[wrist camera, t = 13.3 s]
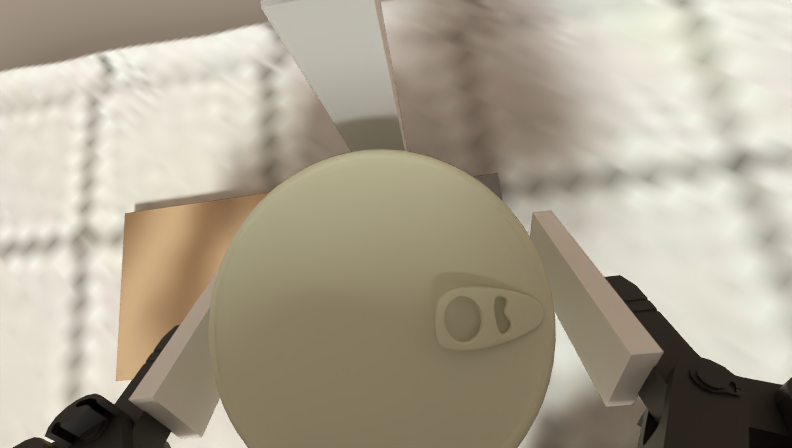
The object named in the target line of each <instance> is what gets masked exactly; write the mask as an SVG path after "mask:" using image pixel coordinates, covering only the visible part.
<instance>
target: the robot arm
mask: <svg viewBox="0 0 792 448" xmlns="http://www.w3.org/2000/svg"><path fill="white" fill-rule="evenodd" d="M530 238H531V240H532V242H533V244H534V246H535V247H536V250H537V252H538V254H539V256H540V259H541V261H542V263H543V266H544V269H545V272H546V275H547V278H548V281H549V285H550V289H551V294H552V299H553V305H554V311H555V313H556V315H557V317H558V318H559V320H560V322H561V324H562V326H563V328H564V330H565V331H566V333H567V335H568V337H569V339H570V341H571V343H572V344H573V346H574V348H575V350H576V352H577V354H578V356H579V357H580V359H581V361H582V363H583V365H584V367H585V369H586V370H587V372H588V374H589V376H590V378H591V380H592V382H593V384H594V385H595V387H596V389H597V391H598V393H599V395H600V397H601V398H602V400H603V402H604V404H605V406H606V407H610V406H623V405H633V403H634V402H635V400H636V398H637V397H638V395H639V396H640V398H641V399H642V401H643V403H644V404H645V406H646V407H647V409H646V410H645V412H644V413H643V415H642V416H641V418H640V420H639V421H638V423H637V425H639V426H641V427H642V428H641V433H640V438H639V444H638V448H792V378H790V379H789V380H788V381H787V382H786V383H785V384H784V385H780V384H775V383H769V382H764V381H759V380H753V379H748V378H743V377H739V376H735V375H734V374H732V373H731V372H730V371H729V370H727V369H726V368H725V367H723V366H721V365H719V364H717V363H715V362H713V361H711V360H708V359H705V358H701V357H700V356H699V355H698V354H697V353H696V352H695V351H694V350H693V349H692V348H691V347H690V346H689V344H688V343H687V342H686V341H685V340H684V339H683V338H682V337H681V335H680V334H679V333H678V332H677V331H676V330H675V329H674V328H673V326H672V325H671V324H670V323H669V322H668V321H667V320H666V319H665V317H664V316H663V315H662V314H661V313H660V312H659V311H657V308H656V307H655V306H654V305H653V304H652V303H651V302H650V301H648V300H647V297H646V296H645V295H644V294H643V293H642V292H641V290H640V289H639V288H638V287H637V286H636V285H635V284H633V283H631V282H630V281H628V280H627V279H625V278H624V277H622V276H620V275H618V276H609V277H604V276H603V275H602V274H601V273H600V271H599V270H598V269H597V267H596V266H595V265H594V264H593V262H592V261H591V260H590V259H589V257H588V256H587V255H586V254H585V252H584V251H583V250H582V249H581V247H580V246H579V245H578V244H577V242H576V241H575V240H574V239H573V237H572V236H571V235H570V234H569V232H568V231H567V230H566V228H565V227H564V226H563V225H562V223H561V222H560V221H559V220H558V218H557V217H556V216H555V215H554V213H553V212H552V211H551V210H550V211H542V212H535V213H533V215H532V224H531V233H530ZM218 270H219V269H218ZM217 274H218V271H217V272H216V274H215V275H214V277H213V278H212V279H211V281H210V282H209V284H208V285H207V287H206V288H205V290H204V291H203V292H202V294H201V295H200V297H199V298H198V300H197V301H196V303H195V304H194V305H193V307H192V308H191V310H190V311H189V313H188V314H187V316H186V317H185V319H184V320H183V321H182V323H181V324H180V325H176V326H175V327H173V328H172V329H171V330H170V331H169V332H168V333H167V334H166V335H165V336H164V337H163V338H162V339H161V340H160V342H159V343H158V345H157V346H156V347H155V349H154V352H153V353H151V354H150V356H149V357H148V359H147V360H146V363H145V364H143V366H142V367H141V368H140V370H139V371H138V373H137V374H136V375H135V377H134V378H133V380H132V381H131V382H130V384H129V385H128V387H127V388H126V389H125V391H124V392H123V393H122V395H121V396H120V398H119V399H118V400H117V402H116V403H115V404H112V403H111V402H110V401H108V400H107V399H105V398H104V397H103V396H101V395H98V394H91V395H87V396H84V397H82V398H80V399H78V400H76V401H75V402H73V403H72V404H71V405H69V406H68V407H66V408H65V409H64V410H63V411H62V412H61V413H60V414H59V415H58V416H57V417H56V418H55V419H54V421H53V422H52V423H51V425H50V426H49V427H48V430H47V432H46V434H45V436H46V437H48V438H49V439H51V440H53V441H55V442H53V443H50V442H48V441H46V440H44V439H42V438H36V437H34V438H31V439H28V440H25V441H23V442H22V443H20V444H18V445H17V446H15V447H13V448H171V447H170V445H169V443H168V442H167V441H166V440H167V438H168V436H169V434H170V433H171V432H172V433H174V434H175V435H176V436H178V437H179V438H180V439H186V438H200V437H202V436H203V434H204V432H205V429H206V427H207V425H208V423H209V421H210V418H211V416H212V414H213V412H214V410H215V407H216V405H217V403H218V401H219V399H220V396H219V393H218V390H217V386H216V382H215V378H214V374H213V370H212V365H211V357H210V349H209V313H210V303H211V298H212V292H213V288H214V285H215V281H216V278H217Z"/></svg>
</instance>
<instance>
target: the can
mask: <svg viewBox="0 0 792 448" xmlns="http://www.w3.org/2000/svg"><path fill="white" fill-rule="evenodd" d="M555 341H556V338H555V313H554V305H553V299H552V294H551V289H550V285H549V281H548V278H547V275H546V272H545V269H544V266H543V263H542V261H541V259H540V256H539V254H538V252H537V250H536V247H535V246H534V244H533V242H532V240H531V238H530V237H529V235H528V233H527V232H526V230H525V228H524V227H523V225H522V224H521V223H520V221H519V220H518V219H517V217H516V216H515V215H514V214H513V212H512V211H511V210H510V209H509V208H508V206H507V205H506V204H505V203H504V202H503V201H502V200H501V199H500V198H499V197H498V196H497V195H496V194H494V193H493V192H492V191H491V190H490V189H489V188H488V187H486V186H485V185H484V184H482V183H481V182H480V181H478V180H477V179H475V178H474V177H472V176H471V175H469V174H468V173H466V172H464V171H462V170H461V169H459V168H457V167H455V166H453V165H451V164H449V163H446V162H444V161H441V160H438V159H436V158H433V157H430V156H426V155H423V154H419V153H414V152H408V151H401V150H390V149H375V150H362V151H354V152H349V153H344V154H340V155H336V156H333V157H330V158H327V159H324V160H322V161H319V162H317V163H314V164H312V165H310V166H308V167H306V168H304V169H302V170H301V171H299V172H297V173H295V174H293V175H292V176H290V177H289V178H287V179H286V180H285V181H283V182H282V183H280V184H279V185H278V186H277V187H275V188H274V189H273V190H272V191H271V192H270V193H269V194H267V195H266V196H265V197H264V198H263V199H262V200H261V201H260V202H259V203H258V204H257V205H256V207H255V208H254V209H253V210H252V211H251V212H250V213H249V215H248V216H247V217H246V219H245V220H244V222H243V223H242V225H241V226H240V227H239V229H238V230H237V232H236V233H235V235H234V237H233V239H232V241H231V243H230V245H229V247H228V248H227V250H226V253H225V255H224V257H223V260H222V262H221V264H220V267H219V270H218V274H217V278H216V281H215V285H214V288H213V292H212V298H211V303H210V313H209V349H210V357H211V365H212V370H213V374H214V378H215V382H216V386H217V390H218V393H219V396H220V398H221V401H222V403H223V406H224V408H225V411H226V413H227V415H228V417H229V419H230V421H231V423H232V424H233V426H234V428H235V430H236V431H237V433H238V434H239V436H240V437H241V438H242V440H243V441H244V443H245V444H246V446H247V447H248V448H518V446H519V445H520V443H521V442H522V440H523V439H524V437H525V436H526V434H527V433H528V431H529V429H530V427H531V426H532V424H533V422H534V420H535V418H536V416H537V415H538V412H539V410H540V408H541V405H542V403H543V400H544V397H545V394H546V391H547V388H548V385H549V381H550V377H551V372H552V367H553V362H554V351H555Z"/></svg>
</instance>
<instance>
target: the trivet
mask: <svg viewBox="0 0 792 448" xmlns="http://www.w3.org/2000/svg"><path fill="white" fill-rule="evenodd" d="M267 194H269V193H263V194H256V195H249V196H242V197H235V198H228V199H221V200H214V201H207V202H201V203H194V204H187V205H180V206H173V207H166V208H159V209H152V210H145V211H138V212H131V213H125V224H124V242H123V260H122V278H121V297H120V315H119V333H118V351H117V370H116V381H123V380H133V378H134V377H135V375H136V374H137V373H138V371H139V370H140V368H141V367H142V366H143V364H145V363H146V360H147V359H148V357H149V356H150V354H151V353H153V352H154V349H155V347H156V346H157V345H158V343H159V342H160V340H161V339H162V338H163V337H164V336H165V335H166V334H167V333H168V332H169V331H170V330H171V329H172V328H173V327H175V326H176V325H180V324H181V323H182V321H183V320H184V319H185V317H186V316H187V314H188V313H189V311H190V310H191V308H192V307H193V305H194V304H195V303H196V301H197V300H198V298H199V297H200V295H201V294H202V292H203V291H204V290H205V288H206V287H207V285H208V284H209V282H210V281H211V279H212V278H213V277H214V275H215V274H216V272H217V271H218V269H219V267H220V264H221V262H222V260H223V257H224V255H225V253H226V250H227V248H228V247H229V245H230V243H231V241H232V239H233V237H234V235H235V233H236V232H237V230H238V229H239V227H240V226H241V225H242V223H243V222H244V220H245V219H246V217H247V216H248V215H249V213H250V212H251V211H252V210H253V209H254V208H255V207H256V205H257V204H258V203H259V202H260V201H261V200H262V199H263V198H264V197H265V196H266V195H267Z"/></svg>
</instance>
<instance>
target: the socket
mask: <svg viewBox="0 0 792 448" xmlns="http://www.w3.org/2000/svg"><path fill="white" fill-rule="evenodd" d="M261 8H262V10H263V11H264V13H265V15H266V16H267V18H268V19H269V21H270V22H271V24H272V26H273V27H274V29H275V30H276V32H277V34H278V35H279V37H280V38H281V40H282V42H283V43H284V45H285V46H286V48H287V49H288V51H289V53H290V54H291V56H292V57H293V59H294V61H295V62H296V64H297V65H298V67H299V69H300V70H301V72H302V73H303V75H304V76H305V78H306V80H307V81H308V83H309V84H310V86H311V88H312V89H313V91H314V92H315V94H316V96H317V97H318V99H319V100H320V102H321V104H322V105H323V107H324V108H325V110H326V111H327V113H328V115H329V116H330V118H331V119H332V121H333V123H334V124H335V126H336V127H337V129H338V131H339V132H340V134H341V135H342V137H343V138H344V140H345V142H346V143H347V145H348V146H349V148H350V150H351V151H352V152H354V151H362V150H375V149H390V150H401V151H408V150H407V145H406V139H405V134H404V128H403V123H402V118H401V112H400V107H399V101H398V96H397V90H396V85H395V79H394V74H393V68H392V63H391V57H390V52H389V46H388V41H387V35H386V30H385V24H384V19H383V13H382V8H381V2H380V0H261ZM473 177H474V178H475V179H477V180H478V181H480V182H481V183H482V184H484V185H485V186H486V187H488V188H489V189H490V190H491V191H492V192H493V193H494V194H496V195H497V196H498V197H499V198H500V199H501V200H502V196H501V191H500V185H499V179H498V174H497V173H494V174H487V175H480V176H473Z"/></svg>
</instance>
